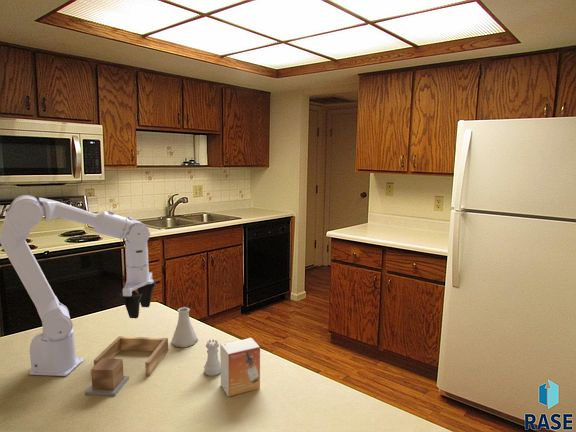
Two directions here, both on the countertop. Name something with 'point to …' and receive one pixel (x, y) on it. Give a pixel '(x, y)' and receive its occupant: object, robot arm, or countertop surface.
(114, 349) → the oak bracket
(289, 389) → the countertop surface
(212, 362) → the rook chess piece
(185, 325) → the flask
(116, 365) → the walnut block
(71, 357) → the robot arm
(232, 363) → the small box
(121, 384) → the slate coaster
